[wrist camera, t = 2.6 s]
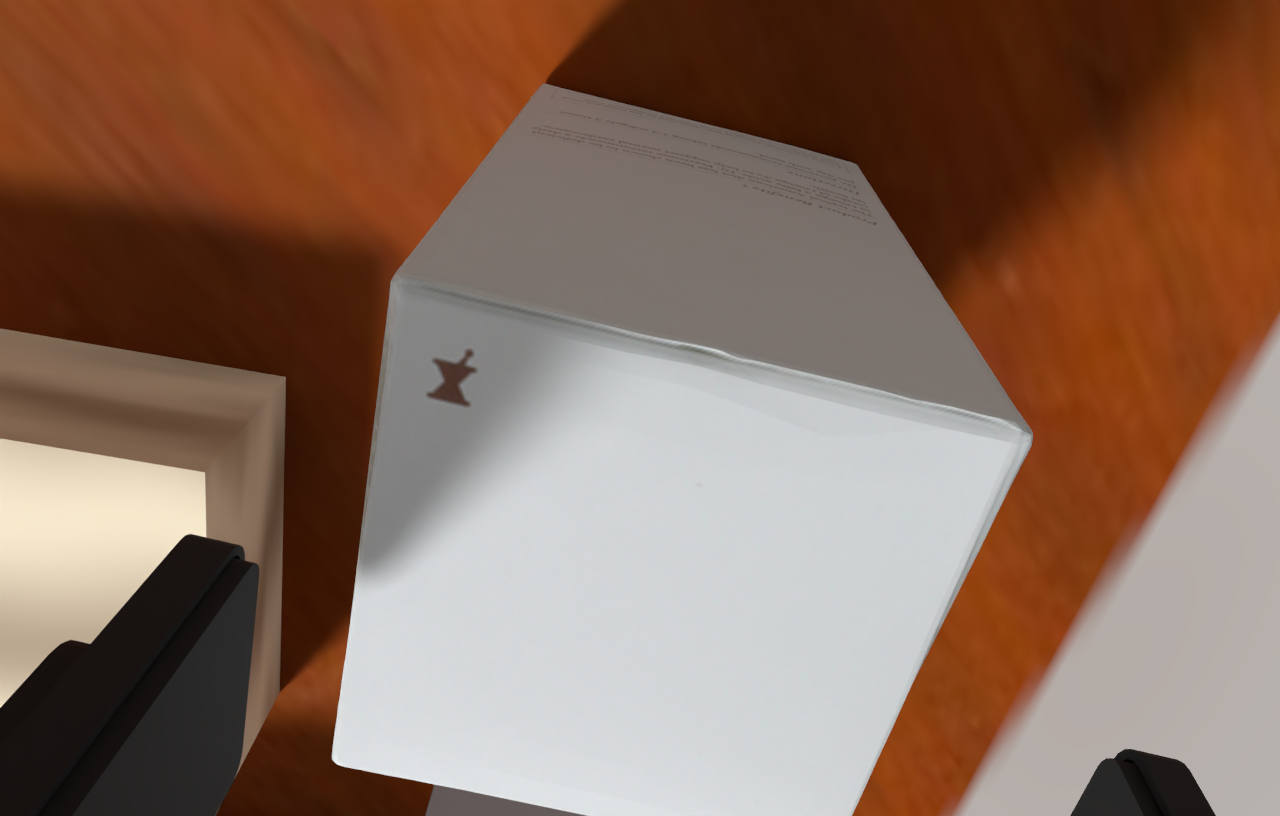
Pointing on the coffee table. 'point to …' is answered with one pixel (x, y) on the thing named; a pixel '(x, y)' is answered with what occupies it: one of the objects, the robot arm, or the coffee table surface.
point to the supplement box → (662, 477)
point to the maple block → (130, 491)
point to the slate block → (482, 805)
